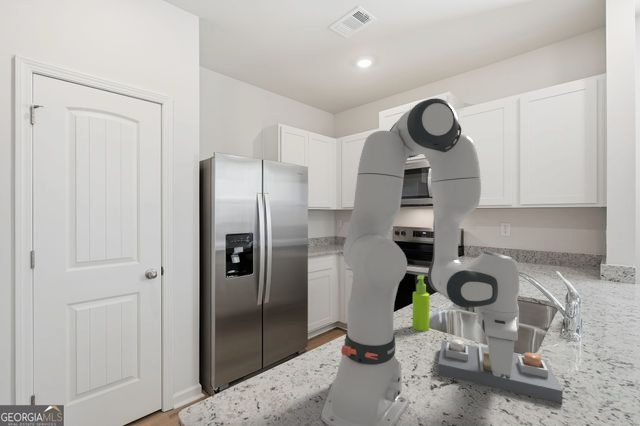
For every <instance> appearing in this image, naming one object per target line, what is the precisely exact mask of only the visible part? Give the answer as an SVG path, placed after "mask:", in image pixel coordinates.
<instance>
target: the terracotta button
mask: <svg viewBox="0 0 640 426" xmlns="http://www.w3.org/2000/svg"><path fill="white" fill-rule="evenodd" d="M523 355H524V363H525V364H526V365H528V366H533V367H538V368H540V367H541V359H542V357H541V356H540V355H538V354H536V353H533V352H524V354H523Z"/></svg>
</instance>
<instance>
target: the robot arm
mask: <svg viewBox="0 0 640 426" xmlns="http://www.w3.org/2000/svg"><path fill="white" fill-rule="evenodd" d="M420 155H423V156H424V158H426V161H427V162H428V164H429V168H430V182H431V183H430V184H431V194H432V195H431V197H432V206H433V208H432V209H433V210H432V211H433V212H432V213H433V222H432V223H433V227H432V228H433V230H432V231H433V236H432V237H433V239H432V240H433V241H432V242H433V249H432V260H431V262H430V265H429V267H428V272H427V280H428V284H429V285H430V288H432V289H433V290H434V291H435V292H436V293H438V294H440V295H441V296H443V297H445V299H447V300H448V301H450V302H451V303H453V304H454V305H455V306H458V307H461V308H465V309H468V308H470V309H471V308H476V311H477V312H476V315H477V316H476V322H477V324H478V325H479V326H480V327H481V328H482V331H483V334H484V335H485V340H486V345H487V348H488V351H489V357H490V364H491V370H492V372H493V375H494V376H498V377H501V374H504V375H510V373H511V370H512V362H513V353H514V351H515V342H516V341H518V338H519V337H518V336H519V335H518V331H519V327H520V325H519V323H520V321H519V320H520V316H519V315H520V306H519V304H518V296H519V294H520V273H519V267H518V263H517V260H516V259H514V258H513V257H511V256H509V255H505V254H501V253H498V252H497V253H496V252H493V251H484V252H482V253H480V255H479V256H477V257H475V258H473V259H472V260H469V261H468V262H467V261H466V262H464V263H462V262H461V260H460V257H459V228H460V225H461V223H462V222H463V221H464V219H465V218H466V217H468V216H469V215H470V214H472V213H473V212H474V211H475V210H476V209H477V208H478V206H479V204H480V200H481V195H482V186H481V185H482V182H481V181H482V180H481V169H480V162H479V157H478V153H477V148H476V145H475V143H474V141H473V139H472V138H471V137H469V136H468V135H466V134H462V127H461V125H460V123H459V118H458V115H457V113H456V111H455V109H454V107H453V106H452V105H451V103H449V102H447V100H445V99H442V98H437V97H436V98H434V97H433V98H429V99H426V100H423V101H420V102H418V103H417V104H415V106H413V108H410V109H409V110H408V111H406V112H405V113H403V114H402V116H400V118H399V119H398V120H397V121H396V122H394V124H393V125H392V127H391V128H390V129H389V130H377V131H375V132H372V133H370V134H369V135H368V136H367V138H366V139H365V141H364V144H363V146H362V150H361V154H360V158H359V163H358V168H357V175H356V184H355V191H354V192H355V193H354V200H353V206H352V207H353V208H352V212H351V216H350V220H349V223H348V228H347V231H346V232H347V233H346V236H345V242H344V244H343V248H342V249H343V250H342V254H343V259H344V262H345V264H346V265H347V267H348V268H350V269H351V271H352V272H351V273H352V284H351V290H350V295H349V299H348V301H347V331H346V333H345V338H344V344H343V345H342V346H341V349H340V350H341V351H340V353H341V355H342V356H341V358H340V362H339V365H338V368H337V372H336V375H335V377H334V379H333V382H332V384H331V386H330V389H329V391H328V394H327V397H326V399H325V400H326V401H325V402H324V405H323V408H322V411H321V416H320V418H321V419H320V420H322V422H323V423H324V424H326V426H395V425H396V423H397V422H398V421H399V419H400V418H401V415H402V414H403V413H404V411H405V410H406V409H407V407H408V405H409V404H410V398H409V396H408V395H407V394H405V393H404V392H403V375H402V364H401V363H400V362H399V361H398V359H397V358H396V355H395V354H396V337H395V336H394V315H395V313H394V312H395V311H394V310H395V301H396V296H397V293H398V288H399V285H400V282H402V280H403V279H404V277H405V275H406V273H407V271H408V270H407V269H408V260H407V257H406V254H405V252H404V251H403V250H402V249H401V247H400V246H399V245H398V244H397V243H396V242H395V241H393V240H392V239H390V235H391V231H392V228H393V225H394V223H395V220H396V219H397V217H398V215H399V214H400V212H401V202H402V194H403V186H404V177H405V167H406V165H407V164H406V163H407V161H408V159H410V158H415V157H417V156H420ZM514 354H515V353H514Z"/></svg>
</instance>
